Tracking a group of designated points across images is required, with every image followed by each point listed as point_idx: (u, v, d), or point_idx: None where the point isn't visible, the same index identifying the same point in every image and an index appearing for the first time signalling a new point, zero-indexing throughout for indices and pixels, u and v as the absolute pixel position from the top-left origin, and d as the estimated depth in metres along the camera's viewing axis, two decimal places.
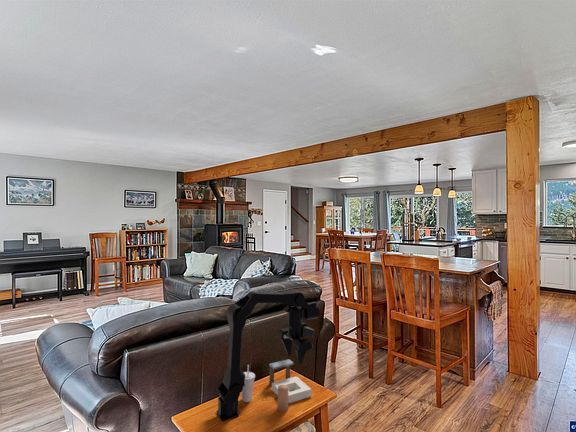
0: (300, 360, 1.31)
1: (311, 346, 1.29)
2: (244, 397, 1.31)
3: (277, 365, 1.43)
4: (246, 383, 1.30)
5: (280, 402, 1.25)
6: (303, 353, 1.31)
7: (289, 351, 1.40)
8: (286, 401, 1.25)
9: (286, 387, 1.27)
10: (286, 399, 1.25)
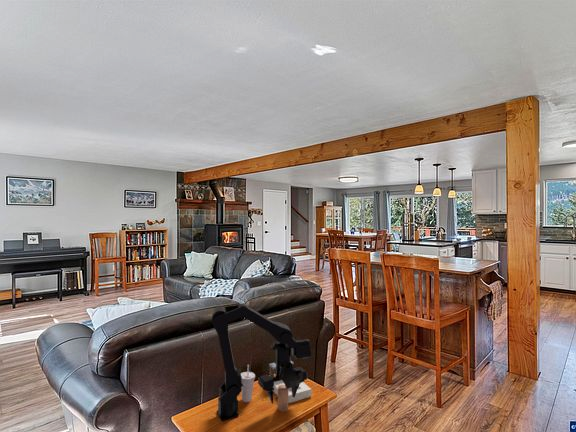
0: (270, 398, 1.25)
1: (263, 386, 1.21)
2: (244, 397, 1.31)
3: None
4: (246, 383, 1.30)
5: (280, 402, 1.25)
6: (269, 392, 1.24)
7: (293, 392, 1.29)
8: (286, 401, 1.25)
9: None
10: (286, 399, 1.25)
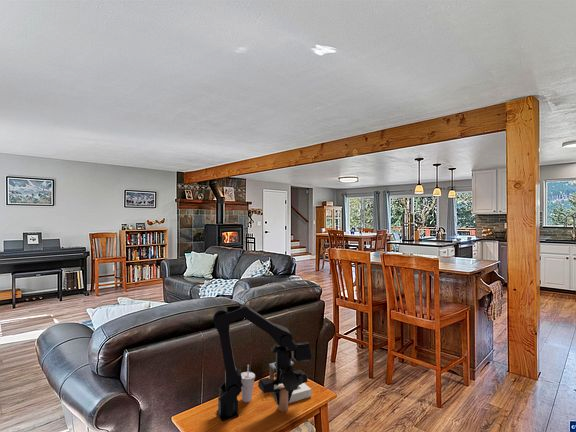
0: (275, 399, 1.26)
1: (263, 389, 1.21)
2: (244, 397, 1.31)
3: None
4: (246, 383, 1.30)
5: (280, 402, 1.25)
6: None
7: None
8: (286, 401, 1.25)
9: None
10: (286, 399, 1.25)
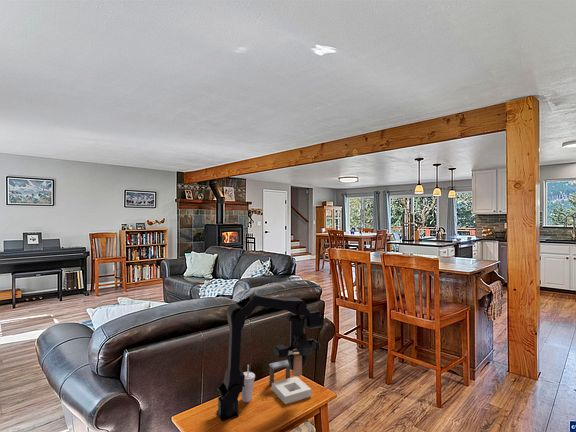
0: (290, 365, 1.33)
1: (278, 354, 1.28)
2: (244, 397, 1.31)
3: (277, 365, 1.43)
4: (246, 383, 1.30)
5: (294, 367, 1.32)
6: (289, 359, 1.32)
7: None
8: (300, 367, 1.32)
9: None
10: (300, 365, 1.32)
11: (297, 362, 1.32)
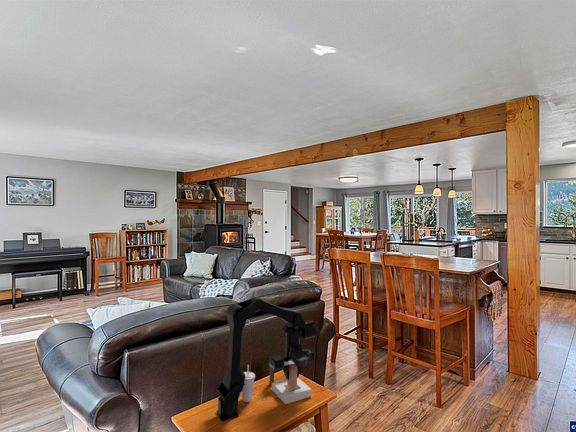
0: (285, 375, 1.36)
1: (274, 365, 1.30)
2: (244, 397, 1.31)
3: None
4: (246, 383, 1.30)
5: (290, 378, 1.35)
6: None
7: None
8: (295, 377, 1.35)
9: None
10: (295, 375, 1.35)
11: (293, 372, 1.35)
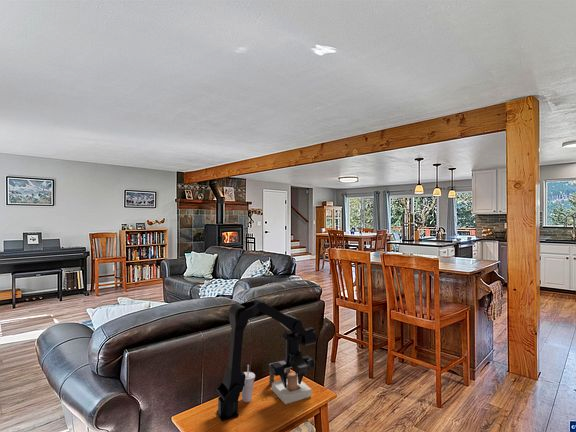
0: (283, 383, 1.35)
1: (274, 372, 1.30)
2: (244, 397, 1.31)
3: None
4: (246, 383, 1.30)
5: (290, 388, 1.35)
6: (283, 377, 1.34)
7: (299, 380, 1.38)
8: (295, 387, 1.35)
9: (295, 375, 1.37)
10: (295, 386, 1.35)
11: (292, 383, 1.35)
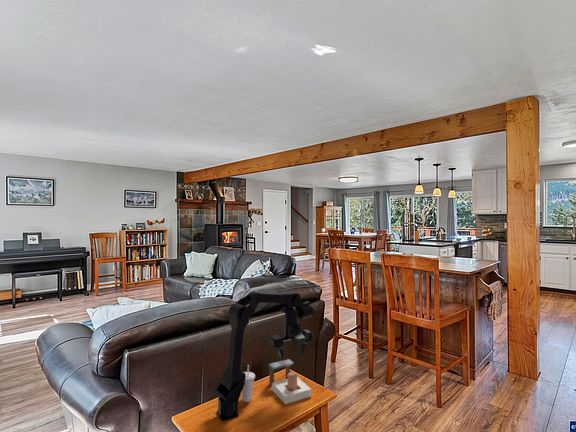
0: (279, 355, 1.39)
1: (273, 344, 1.35)
2: (244, 397, 1.31)
3: (277, 365, 1.43)
4: (246, 383, 1.30)
5: (290, 388, 1.35)
6: None
7: (300, 351, 1.43)
8: (295, 387, 1.35)
9: (295, 374, 1.37)
10: (295, 385, 1.35)
11: (292, 383, 1.35)
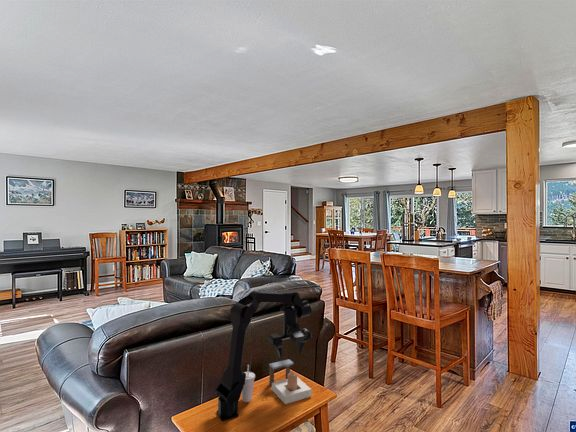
0: (278, 354, 1.41)
1: (272, 342, 1.37)
2: (244, 397, 1.31)
3: (277, 365, 1.43)
4: (246, 383, 1.30)
5: (290, 388, 1.35)
6: (278, 348, 1.40)
7: (298, 350, 1.45)
8: (295, 387, 1.35)
9: (295, 374, 1.37)
10: (295, 385, 1.35)
11: (292, 383, 1.35)
